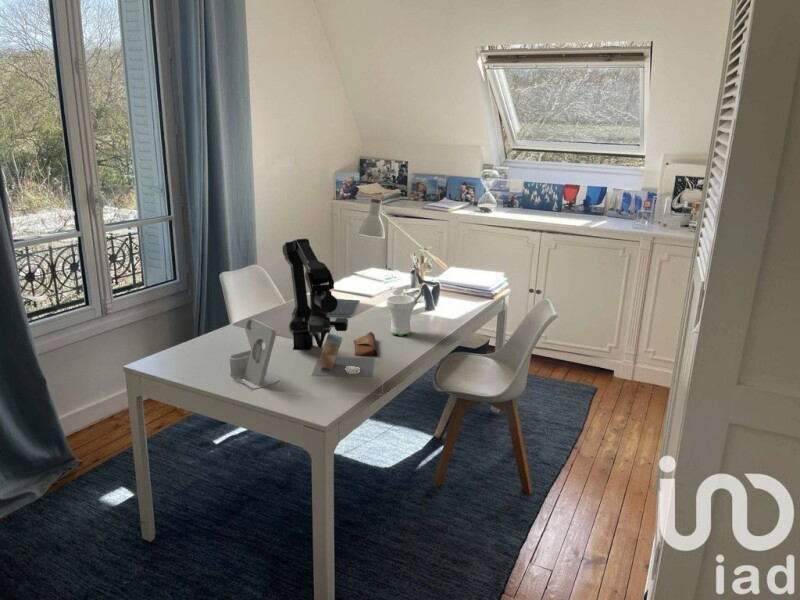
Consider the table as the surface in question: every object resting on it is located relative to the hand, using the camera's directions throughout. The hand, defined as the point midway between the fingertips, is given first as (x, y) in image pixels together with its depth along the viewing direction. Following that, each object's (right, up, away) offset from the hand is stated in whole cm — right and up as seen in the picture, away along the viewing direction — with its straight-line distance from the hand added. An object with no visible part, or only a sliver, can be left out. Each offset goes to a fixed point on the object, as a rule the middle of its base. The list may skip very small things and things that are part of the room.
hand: (320, 348), depth 204 cm
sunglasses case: (+14, -2, +19) cm, 24 cm away
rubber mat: (+8, -7, +2) cm, 11 cm away
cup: (+27, +3, +35) cm, 44 cm away
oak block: (+2, -6, +2) cm, 6 cm away
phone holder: (-21, -9, -6) cm, 24 cm away
